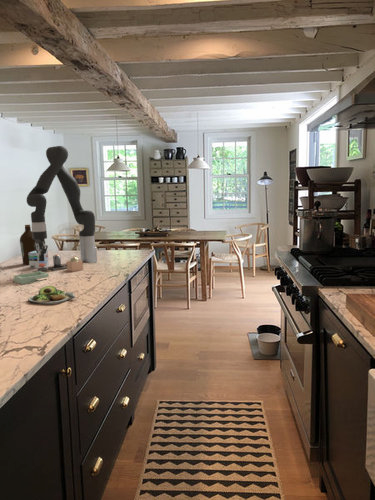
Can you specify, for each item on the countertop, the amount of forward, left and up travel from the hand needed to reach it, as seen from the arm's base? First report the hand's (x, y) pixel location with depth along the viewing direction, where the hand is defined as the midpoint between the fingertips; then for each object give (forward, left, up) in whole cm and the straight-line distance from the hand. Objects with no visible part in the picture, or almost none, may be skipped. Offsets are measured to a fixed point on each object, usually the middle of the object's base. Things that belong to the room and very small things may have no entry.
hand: (42, 261), depth 216 cm
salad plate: (+20, +52, -8) cm, 56 cm away
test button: (0, 0, -3) cm, 3 cm away
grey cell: (-9, 0, -6) cm, 11 cm away
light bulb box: (-5, -15, -8) cm, 17 cm away
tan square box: (-14, +11, -7) cm, 19 cm away
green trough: (+11, +11, -7) cm, 17 cm away
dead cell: (-14, +11, -7) cm, 19 cm away
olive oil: (-9, -37, -8) cm, 39 cm away
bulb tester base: (-5, 0, -7) cm, 9 cm away
